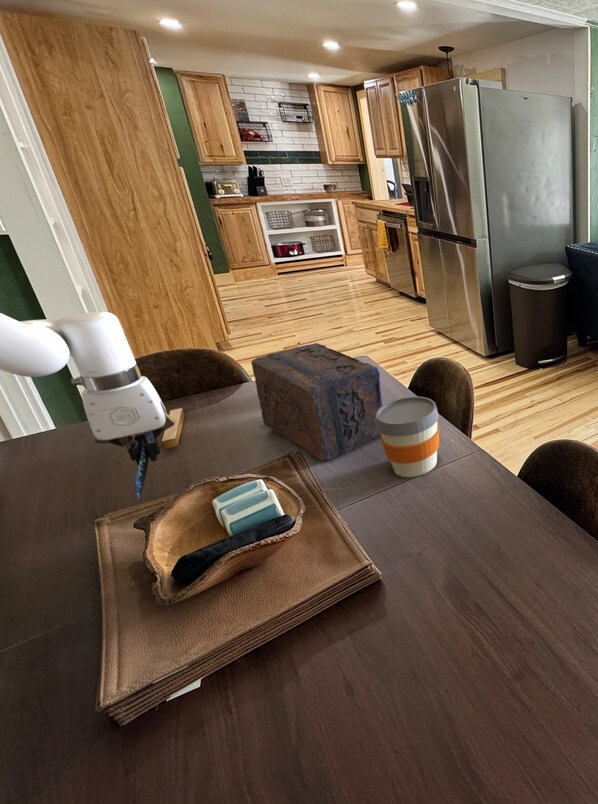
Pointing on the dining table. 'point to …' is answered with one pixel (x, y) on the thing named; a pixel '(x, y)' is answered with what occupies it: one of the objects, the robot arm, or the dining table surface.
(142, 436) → the knife
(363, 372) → the decorative box
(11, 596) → the dining table surface
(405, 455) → the reusable coffee cup
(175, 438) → the tan wooden bar
